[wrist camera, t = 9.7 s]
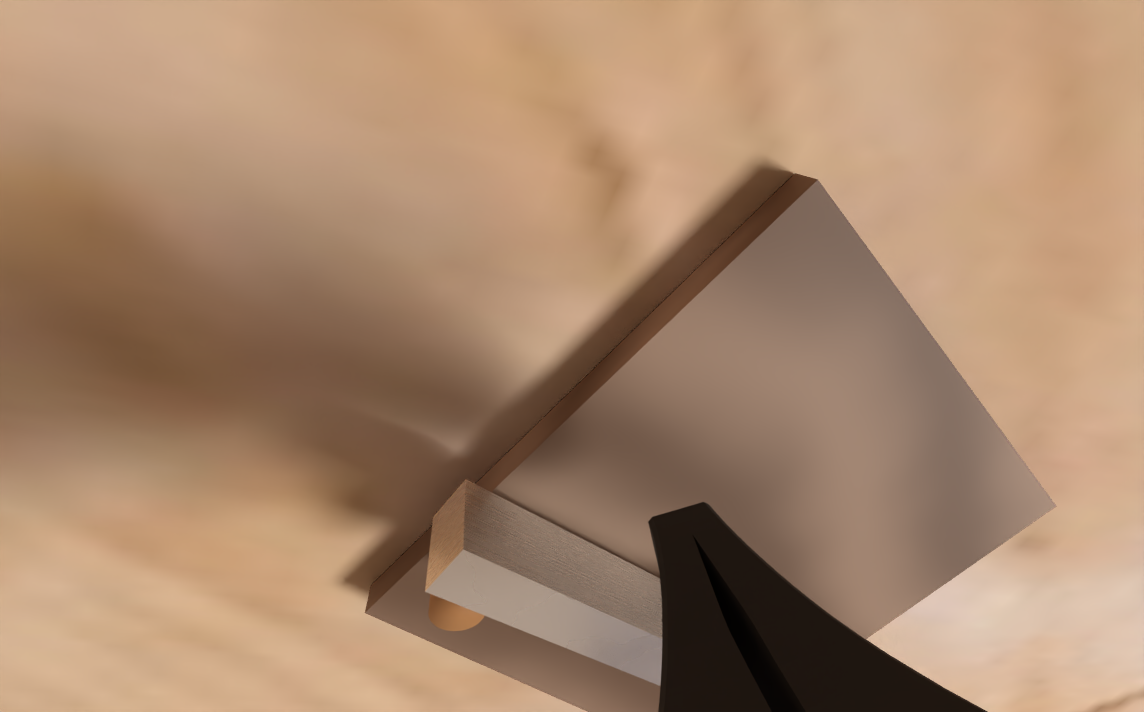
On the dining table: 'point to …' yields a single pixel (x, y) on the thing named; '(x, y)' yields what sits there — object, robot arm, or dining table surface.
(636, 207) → the dining table surface
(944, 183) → the dining table surface
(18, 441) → the dining table surface
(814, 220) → the base board
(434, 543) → the cap handle
